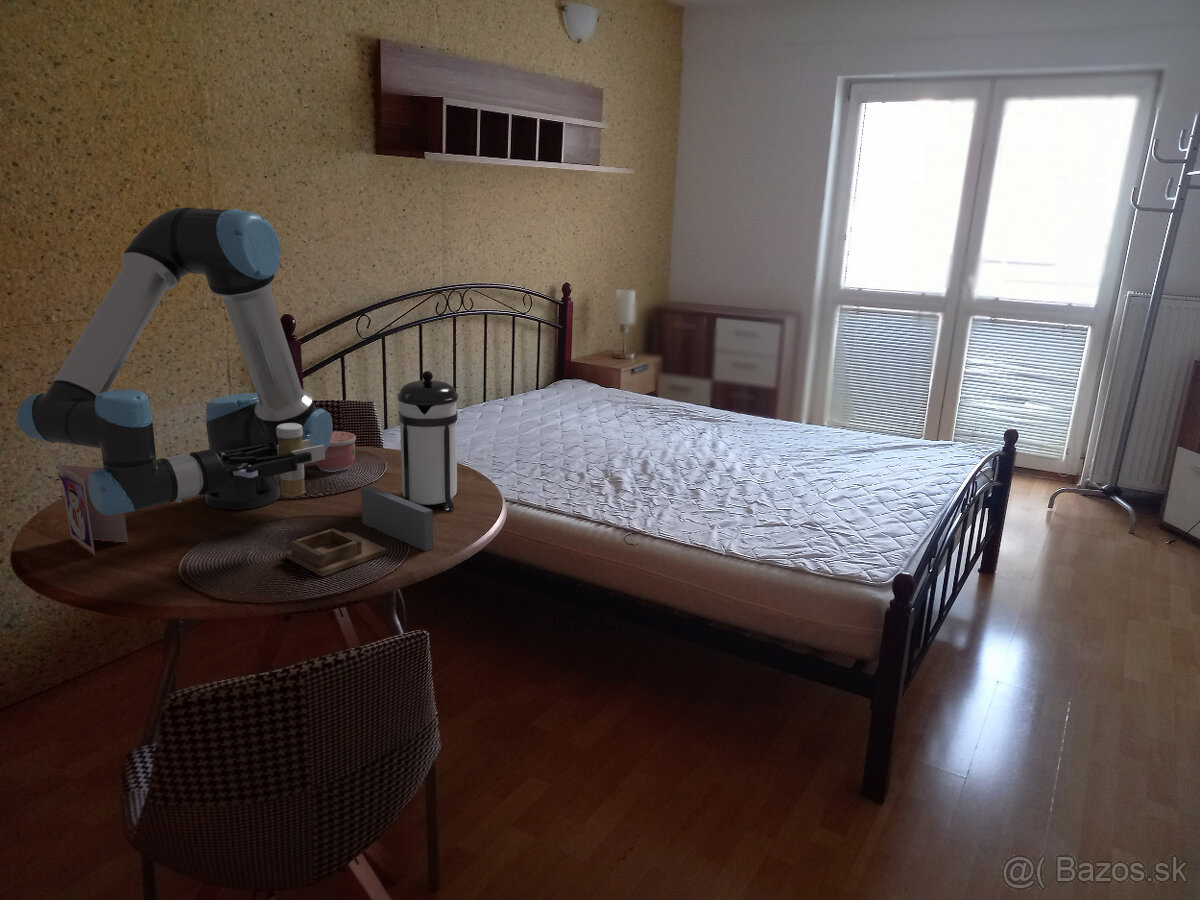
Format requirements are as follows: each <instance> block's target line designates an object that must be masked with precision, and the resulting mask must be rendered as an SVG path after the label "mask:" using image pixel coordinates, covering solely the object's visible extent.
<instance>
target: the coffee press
mask: <svg viewBox="0 0 1200 900" xmlns="http://www.w3.org/2000/svg"><path fill="white" fill-rule="evenodd" d="M421 377H422V379H423V380H415V381H414V380H413V381H410V382H408V383H406V384H404V385H403V386H402V387H401V388H400V391H399V393H397V401H398V403H399V410H398V422H399V429H400V430H399V433H400V465H401V490H402V491H401V492H402V496H403V499H406V500H408V501H411V502H413V503H416V504H418V505H430V506H432V505H438V504H440V505H441V506H443V508H444V511H445V512H450V511H453V510H454V509H455V507H454V504H453V502H452V500H453V499H454V496H455V495H456V496H458V471H457V469H458V468H457V467H458V465H457V464H458V460H457V459H458V457H457V455H458V454H457V453H458V452H457V451H458V450H457V448H458V447H457V446H458V445H457V442H458V441H457V439H458V438H457V422H458V410H457V401H458V399H459V395H458V393H457V392H456V390H455V388H454V386H452V385H451V384H450V383H447V382H444V381H441V380H433V377H434V375H433V373H432V372H431V371H430V370H425V371H424V372H423V373H422V375H421ZM456 496H455V497H456Z"/></svg>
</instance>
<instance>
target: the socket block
mask: <svg viewBox="0 0 1200 900" xmlns="http://www.w3.org/2000/svg"><path fill="white" fill-rule="evenodd" d="M290 547H291V550H287V551H285V552H284V557H285V558H286V559H287V560H290V561H291V562H294V563H295V564H298V565H299V566H301V567H302V568H305V569H307V570H309V571H311V572H313V573H314V574H316V575H318V576H320V577H325V576H329V575H331V574H335V573H337V572H340V571H342V570H344V569H349V568H351V567H353V566H356V565H357V566H358V565H359V564H362V563H365V562H367V561H370V560H373V559H376V558H378V557H381V556H384V555H386V554H387V553H388V549H387V548H386V547H384V546H381V545H379V544H377V543H376V542H373V541H371V540H368V539H366V538H364V537H362V536H360V535H357V534H355V533H353V532H351V531H346V532H343V531H340V530H339V529H336V528H334V527H332V528H329V529H326V530H323V531H319V532H316V533H314V534H310V535H307V536H304V537H301V538H298V539H295V540H291V541H290ZM387 555H388V554H387Z"/></svg>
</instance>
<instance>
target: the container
mask: <svg viewBox="0 0 1200 900" xmlns="http://www.w3.org/2000/svg"><path fill="white" fill-rule="evenodd" d="M356 438H357V436H356V435H355V434H354V433H352V432H347V431H340V430H339V431H338V430H337V431H335V430H334V431H333V430H332V436H331V440H330V443H329V446H328V448H327V450H326V452H325V459H324V460H319V461H315V462H314V463H315V466H316V467H318V469H319V468H320V469H322V470H329V471H336V470H337V471H338V470H344V469H348V468H349V467H351V468H352V465H353V464H354V462H355V459H356V443H355V442H356V440H357V439H356Z"/></svg>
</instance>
